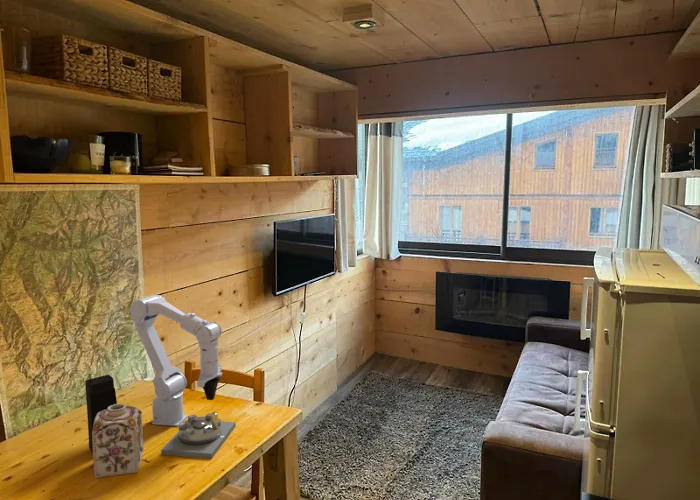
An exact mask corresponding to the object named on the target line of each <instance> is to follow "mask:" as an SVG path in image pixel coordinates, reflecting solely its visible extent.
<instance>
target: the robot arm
mask: <svg viewBox="0 0 700 500" xmlns="http://www.w3.org/2000/svg"><path fill="white" fill-rule="evenodd" d="M128 311H129V313H130V314H131V317H132V320H133V325H134V327H135V331H136V332H137V334H138V336H139V338H140V341H141V343H142V345H143V347H144V350H145V351H146V354H147V355H148V358H149V360H150V362H151V365H152V367H153V370H154V371H155V375H154V377H153V380H152V383H153V386H154V393H155V396H154V398H153V401H152V404H151V405H152V407H151V409H152V422H151V424H152V425H157V426H171V427H172V426H173V427H179V422H185V421H186V419H187V418H188V416H189V414H188V413H184V402H183V400H184V398H183V394H184V390H185V389H186V387H187V383H188V381H187V378H186V376H185V375H184V374H183V373H182V372H181V370H180V369H179V368H178V367H177V366H174V365H172V363H171V360H170V358H169V356H168V354H167V352H166V349H165V347H164V345H163V343H162V341H161V339H160V337H159V334H158V332H157V330H156V328H155V326H154V323H155V320H156V319H157V317H159V315H162V316H164V317H166V318H167V319H170V320H172V321H175V322H176V323H179V327H180V329H182V330H184V331H186V332H188V333H190V335H193V336H195V338H196V340H197V342H198V347H199V351H200V352H199V353H200V354H199V355H200V373H199V377H198V379H197V380H196V382H197V383H196V384H197V385H196V386H197V388H199V387H200V388H202V389H203V391H204V394H205V398H206V400H208V401H213V400H214V399H215V398H216V397H215V396H216V393H217V388H218V385H219V383H220V380H221V377H222V375H223V372H221V371H222V370H223V369H222V368H223V367H222V366H223V365H222V364H219V363H220V361H219V359H220V358H219V338H220V337H221V335H222V328H221V325H220V324H218V323H217V322H216V321H210V322H209V321H208V320H207V319H203V318H201V317H199V316H197V314H196V313H195V312H192V313H191V312H188V313H185V312H183V311H181V310H180V309H178V308H177V307H175V306H174V305H172V304H171V303H170V302H168V301H166V298H165V297H163V296H161V295H160V294H156V293H155V294H154V293H153V294H152V295H149V296H147V297H143V298H140V299H139V298H138V299H135V300H133V301H132V303H131V305H130V308H129V309H128Z"/></svg>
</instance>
